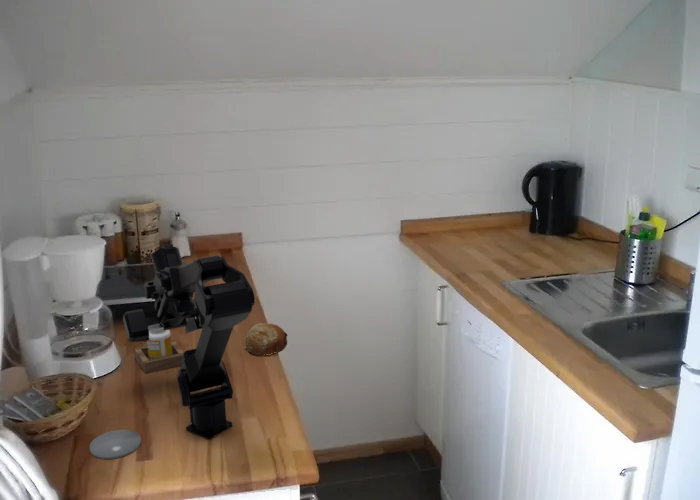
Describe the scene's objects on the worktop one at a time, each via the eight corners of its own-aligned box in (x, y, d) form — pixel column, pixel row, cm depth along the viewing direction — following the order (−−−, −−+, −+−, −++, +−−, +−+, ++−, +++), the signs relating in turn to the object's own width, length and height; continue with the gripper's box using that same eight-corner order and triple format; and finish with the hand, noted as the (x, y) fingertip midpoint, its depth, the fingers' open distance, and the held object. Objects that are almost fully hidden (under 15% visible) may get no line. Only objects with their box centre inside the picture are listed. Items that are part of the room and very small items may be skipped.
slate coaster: (151, 441, 135) (151, 438, 134) (111, 464, 127) (110, 461, 127) (119, 427, 139) (119, 424, 139) (79, 449, 132) (79, 446, 132)
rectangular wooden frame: (186, 364, 166) (185, 354, 165) (145, 373, 162) (144, 363, 161) (174, 349, 174) (173, 339, 173) (135, 358, 170) (134, 348, 169)
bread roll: (248, 355, 179) (233, 330, 176) (283, 332, 181) (269, 307, 178) (260, 371, 170) (244, 345, 167) (296, 347, 173) (282, 321, 169)
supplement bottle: (169, 354, 171) (165, 316, 168) (176, 363, 167) (172, 323, 164) (146, 359, 169) (142, 321, 166) (152, 368, 164) (148, 328, 161)
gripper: (208, 261, 155) (196, 296, 167) (119, 276, 146) (114, 311, 158) (224, 307, 150) (210, 339, 163) (133, 325, 142) (125, 357, 154)
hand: (165, 335), depth 160 cm, fingers open, 9 cm apart
